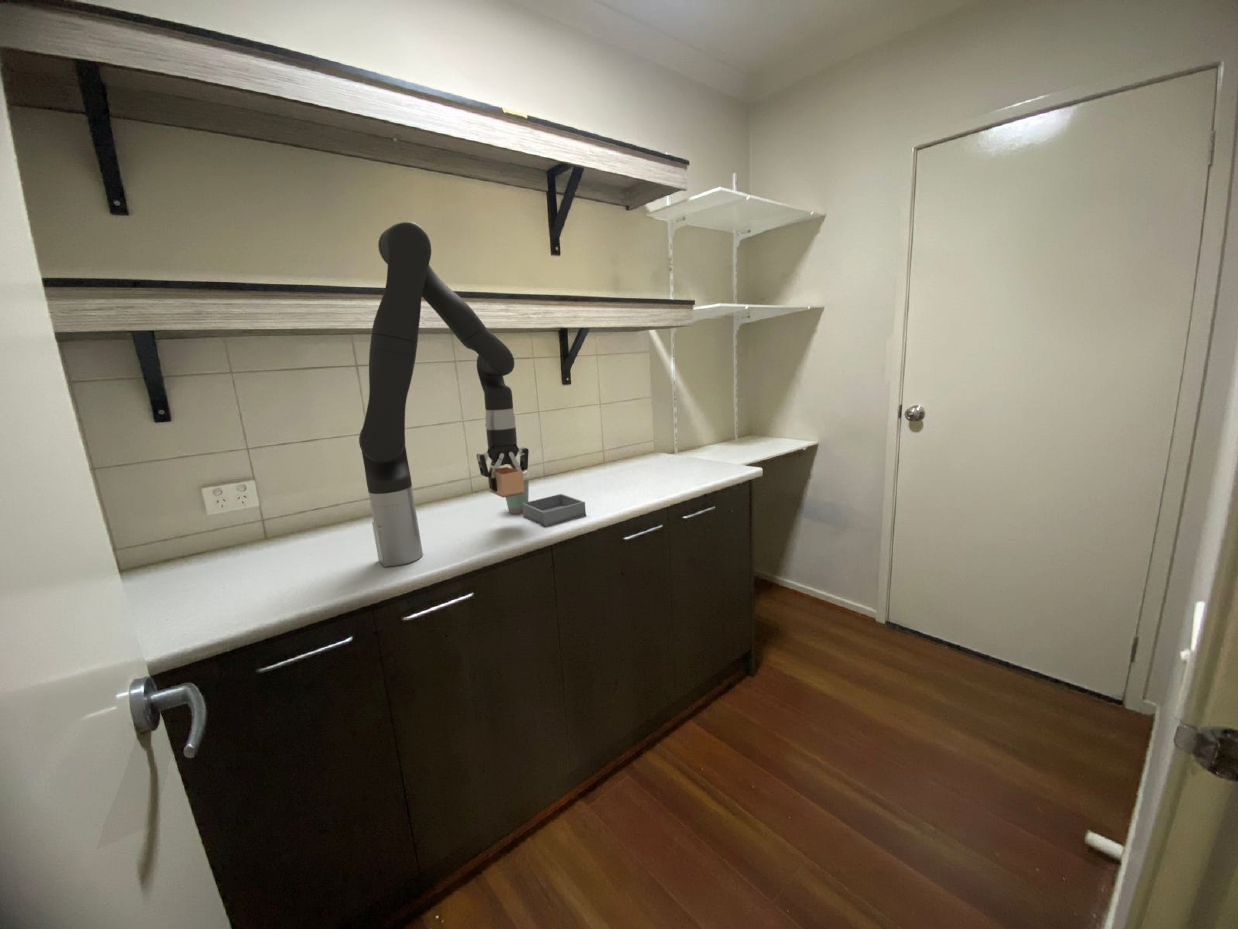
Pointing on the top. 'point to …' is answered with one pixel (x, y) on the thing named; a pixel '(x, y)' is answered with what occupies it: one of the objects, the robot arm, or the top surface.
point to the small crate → (508, 482)
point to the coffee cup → (519, 497)
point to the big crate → (553, 509)
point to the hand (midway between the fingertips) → (506, 488)
